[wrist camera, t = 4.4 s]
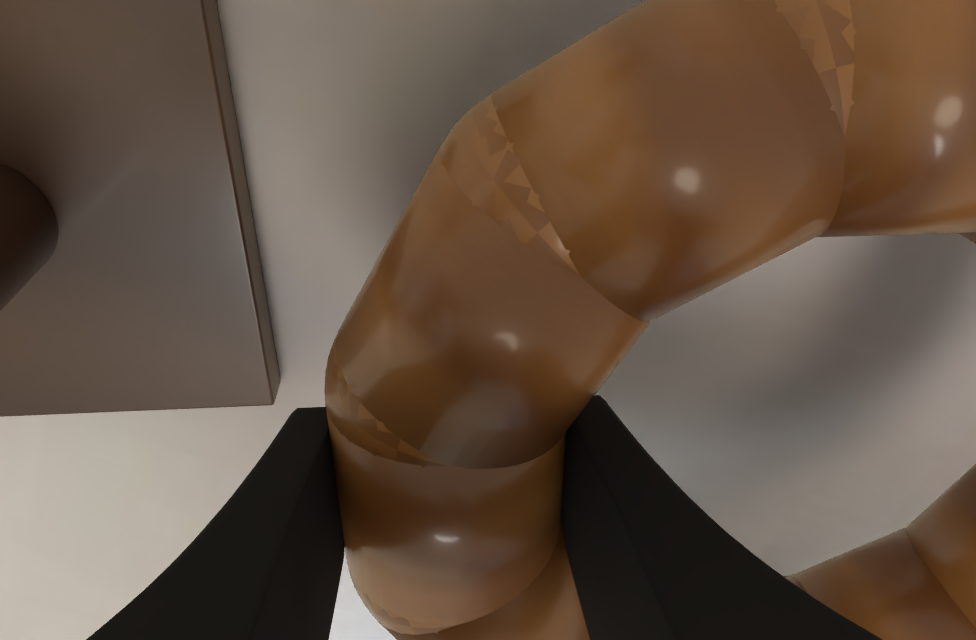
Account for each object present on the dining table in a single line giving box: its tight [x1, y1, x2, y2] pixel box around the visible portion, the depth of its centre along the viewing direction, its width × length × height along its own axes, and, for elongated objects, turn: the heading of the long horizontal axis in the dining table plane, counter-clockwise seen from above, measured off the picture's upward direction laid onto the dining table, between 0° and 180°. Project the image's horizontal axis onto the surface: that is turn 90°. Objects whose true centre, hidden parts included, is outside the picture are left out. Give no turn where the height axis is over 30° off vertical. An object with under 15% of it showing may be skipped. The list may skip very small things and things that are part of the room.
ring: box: [325, 0, 976, 640], centre depth 13 cm, size 15×15×4 cm
